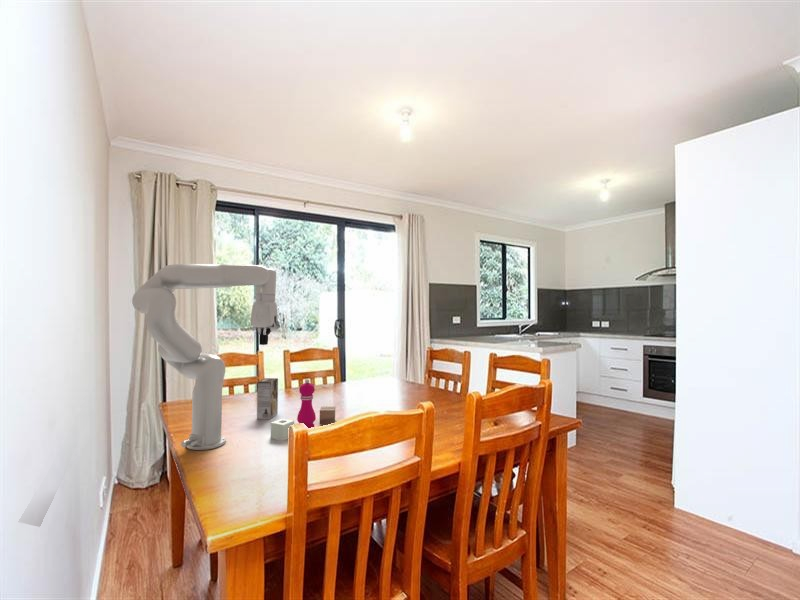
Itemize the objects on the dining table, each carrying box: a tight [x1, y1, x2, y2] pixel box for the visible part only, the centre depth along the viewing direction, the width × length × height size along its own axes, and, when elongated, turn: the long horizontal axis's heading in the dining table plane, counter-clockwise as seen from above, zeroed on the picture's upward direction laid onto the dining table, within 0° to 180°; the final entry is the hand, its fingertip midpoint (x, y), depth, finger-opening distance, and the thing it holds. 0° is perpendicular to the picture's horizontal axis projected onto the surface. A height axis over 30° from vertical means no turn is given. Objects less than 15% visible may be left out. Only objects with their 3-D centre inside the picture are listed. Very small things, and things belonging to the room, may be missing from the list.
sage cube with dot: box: [270, 418, 295, 441], centre depth 150 cm, size 6×6×6 cm
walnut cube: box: [318, 406, 336, 426], centre depth 169 cm, size 6×6×6 cm
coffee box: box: [256, 377, 279, 420], centre depth 177 cm, size 9×6×16 cm
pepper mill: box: [296, 378, 317, 428], centre depth 160 cm, size 7×7×20 cm
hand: (263, 344), depth 161 cm, fingers closed
